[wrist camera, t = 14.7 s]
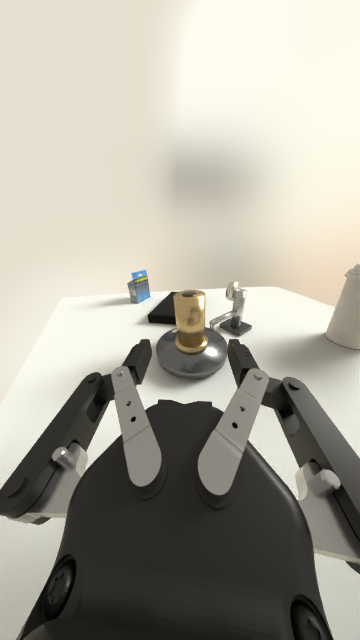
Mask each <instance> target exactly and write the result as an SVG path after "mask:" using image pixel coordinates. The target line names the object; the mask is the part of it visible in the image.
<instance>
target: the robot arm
mask: <svg viewBox="0 0 360 640" xmlns="http://www.w3.org/2000/svg"><path fill="white" fill-rule="evenodd" d="M227 355H228V359H229V362H230V366H231V369H232V372H233V375H234V378H235V381H236V384H237V387H238V388H237V390H236V392H235V394H234V396H233V397H232V399H231V401H230V403H229V405H228V406H227V408H226V410H225V412H222V411H221V410H219V409H218V408H215V407H213V406H212V402H205V401H197V402H192V403H188V404H182V403H179V402H176V401H173V400H158V404H155V405H153V406H151V407H149V408H147V409H146V410H144V407H143V405H142V402H141V399H140V397H139V394H138V392H137V389H136V385H137V384H141V383H142V381H143V378H144V375H145V373H146V370H147V367H148V365H149V362H150V359H151V356H152V349H151V345H150V340H149V339H141V341H140V343H139V344H136V345H135V346H134V347H133V348H132V349H131V351H130V353H129V354H128V356H127V358H126V359H125V361H124V363H123V364H122V366H121V367H118V368H116V369H115V370H114V371H113V372H112V374H108V375H104V376H101V374H100V373H98V372H95V373H91V374H89V375H88V376H86V377H85V378H84V379H83V381H82V382H81V383H80V384H79V386H78V387H77V388H76V390H75V391H74V392H73V394H72V395H71V396H70V398H69V399H68V400H67V402H66V403H65V404H64V406H63V407H62V408H61V410H60V411H59V412H58V414H57V415H56V416H55V418H54V419H53V420H52V422H51V423H50V424H49V426H48V427H47V428H46V430H45V431H44V432H43V434H42V435H41V436H40V438H39V439H38V440H37V442H36V443H35V444H34V446H33V447H32V448H31V450H30V451H29V452H28V454H27V455H26V456H25V457H24V459H23V460H22V461H21V463H20V464H19V465H18V467H17V468H16V469H15V471H14V472H13V473H12V475H11V476H10V477H9V479H8V480H7V481H6V483H5V484H4V485H3V487H2V488H1V490H0V515H3V516H6V517H7V518H8V519H11V520H14V521H18V522H22V523H33V524H36V525H40V524H43V523H45V522H46V521H48V520H49V519H50V518H51V517H59V518H66V522H65V528H64V533H63V537H62V541H61V545H60V548H59V551H58V555H57V558H56V561H55V564H54V566H53V569H52V571H51V574H50V576H49V578H48V580H47V582H46V584H45V586H44V588H43V590H42V592H41V594H40V596H39V598H38V600H37V602H36V604H35V606H34V607H33V609H32V611H31V613H30V615H29V617H28V619H27V621H26V622H25V624H24V626H23V628H22V630H21V632H20V634H19V635H18V637H17V639H16V640H334V639H333V637H332V634H331V631H330V628H329V625H328V622H327V619H326V616H325V612H324V609H323V605H322V601H321V597H320V593H319V588H318V583H317V577H316V570H315V562H314V553H317V554H321V555H325V556H329V557H333V558H337V559H341V560H345V561H346V563H347V564H348V565H349V566H350V567H351V568H352V569H354V570H355V571H356V572H357V573H359V574H360V458H359V457H358V456H357V454H356V453H355V452H354V450H353V449H352V448H351V446H350V445H349V444H348V442H347V441H346V440H345V438H344V437H343V435H342V434H341V433H340V431H339V430H338V429H337V427H336V426H335V425H334V423H333V422H332V421H331V419H330V418H329V417H328V415H327V414H326V413H325V411H324V410H323V409H322V407H321V406H320V404H319V403H318V402H317V400H316V399H315V398H314V396H313V395H312V394H311V392H310V391H309V390H308V388H307V387H306V386H305V385H304V384H303V383H302V382H301V381H299V380H297V379H295V378H292V377H285V378H284V379H283V380H282V381H281V380H277V379H274V378H270V377H268V375H267V374H266V373H265V372H264V371H262V370H260V369H259V367H258V365H257V363H256V362H255V360H254V358H253V357H252V354H251V353H250V351H249V349H248V348H247V347H246V346H245V345H244V344H240V342H239V340H238V339H229V343H228V351H227ZM114 399H115V403H116V408H117V413H118V418H119V423H120V427H121V432H122V434H121V435H120V436H119V437H118V438H117V439H116V440H115V441H114V442H113V443H112V444H111V445H110V446H109V447H108V448H107V449H106V450H105V451H104V452H103V453H102V454H101V455H100V456H99V457H98V458H97V459H96V460H95V461H94V463H93V464H92V465H91V466H90V467H89V468H88V469H87V470H86V471H85V467H86V464H87V460H88V455H87V452H86V451H87V449H88V446H89V444H90V442H91V440H92V438H93V436H94V434H95V432H96V430H97V427H98V425H99V423H100V421H101V419H102V417H103V415H104V413H105V411H106V408H107V406H108V404H109V402H110V401H111V400H114ZM260 404H261V405H264V406H267V407H270V408H273V409H274V411H275V413H276V415H277V418H278V420H279V422H280V425H281V427H282V429H283V431H284V434H285V436H286V438H287V440H288V443H289V445H290V447H291V449H292V452H293V454H294V456H295V459H296V461H297V463H298V465H299V468H300V469H299V470H298V471H297V473H296V476H295V477H296V484H297V487H298V492H299V499H298V500H297V499H296V498H295V496H294V494H293V493H292V492H291V490H290V489H289V488H288V486H287V485H286V484H285V483H284V482H283V480H282V479H281V478H280V477H279V476H278V475H277V473H276V472H275V471H274V470H273V469H272V467H271V466H270V465H269V464H268V463H267V462H266V460H265V459H264V458H263V457H262V456H261V455H260V453H259V452H258V451H257V450H256V449H255V448H254V446H253V445H252V444H251V443H250V442H249V441H248V438H249V435H250V432H251V429H252V427H253V424H254V421H255V418H256V415H257V413H258V410H259V407H260ZM84 471H85V473H84Z"/></svg>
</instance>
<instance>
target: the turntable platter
mask: <svg viewBox="0 0 360 640" xmlns="http://www.w3.org/2000/svg"><path fill="white" fill-rule="evenodd" d="M205 335H206V336H207V338H208V346H207V349H206V350H205V351H204V352H202V353H200V354H197V355H186V354H183V353H181V352H179V351H178V350H177V349H176V345H175V338H176V336H177V328H175V329H172V330H170V331H168V332H167V333H165V334H164V335H163V336H162V337H161V338H160V339H159V341H158V343H157V346H156V352H157V357H158V360H159V363H160V364H161V366H162V367H163V368H164V369H165V370H167V371H168V372H170V373H171V374H173V375H176V376H179V377H184V378H201V377H205V376H208V375H211V374H213V373H215V372H216V371H218V370H219V369H220V368H221V367H222V366H223V365H224V363H225V361H226V358H227V350H228V347H227V343H226V341H225V339H224V338H223V337H222V336H221V335H220V334H219V333H218V332H216V331H214V330H213V331H211V330H210V329H209V328H206V327H205Z"/></svg>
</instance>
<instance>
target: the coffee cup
mask: <svg viewBox="0 0 360 640" xmlns="http://www.w3.org/2000/svg"><path fill="white" fill-rule="evenodd" d="M345 276H346V277H347V280H346V282H345V285H344V287H343V290H342V293H341V295H340V298H339V300H338V303H337V306H336V308H335V311H334V313H333V316H332V318H331V321H330V323H329V326H328V329H327V331H326V334H325V335H326V337H327V338H328V339H329V340H331V341H333V342H335V343H337V344H339V345H342V346H344V347H348V348H352V349H357V350H360V263H358V264H357V265H356V266H355V267H354V268H353V269H350V270H349V271H348V272H347V273H346V274H345Z"/></svg>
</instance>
